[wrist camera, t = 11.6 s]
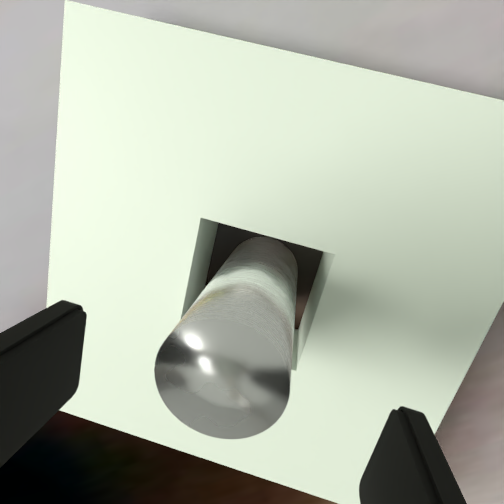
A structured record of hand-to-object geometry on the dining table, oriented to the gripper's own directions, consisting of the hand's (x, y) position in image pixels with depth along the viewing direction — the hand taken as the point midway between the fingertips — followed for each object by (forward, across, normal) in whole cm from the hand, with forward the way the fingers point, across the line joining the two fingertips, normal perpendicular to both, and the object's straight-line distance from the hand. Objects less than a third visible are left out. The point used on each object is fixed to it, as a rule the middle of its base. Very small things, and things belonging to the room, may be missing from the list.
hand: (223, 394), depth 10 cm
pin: (+10, 0, -1) cm, 10 cm away
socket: (+10, 0, -1) cm, 10 cm away
